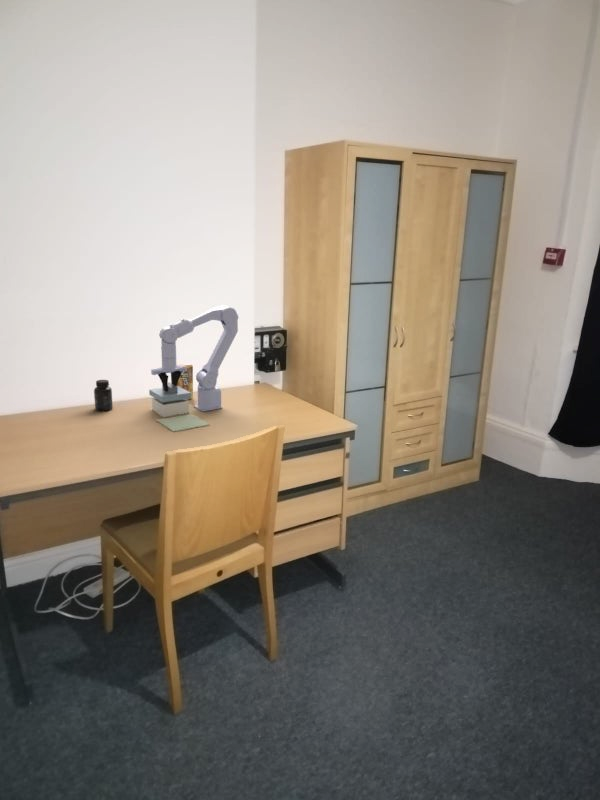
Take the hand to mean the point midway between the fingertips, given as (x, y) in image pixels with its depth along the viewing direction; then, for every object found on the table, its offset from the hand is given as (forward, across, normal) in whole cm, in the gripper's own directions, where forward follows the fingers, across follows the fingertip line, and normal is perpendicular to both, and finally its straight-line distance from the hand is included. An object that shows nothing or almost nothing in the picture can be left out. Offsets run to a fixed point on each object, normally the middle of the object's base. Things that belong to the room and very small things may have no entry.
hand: (169, 390), depth 232 cm
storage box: (+9, 0, 0) cm, 9 cm away
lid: (+3, 0, 0) cm, 3 cm away
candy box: (+9, -12, -14) cm, 21 cm away
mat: (+9, +2, +16) cm, 19 cm away
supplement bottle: (+9, +22, -16) cm, 29 cm away
